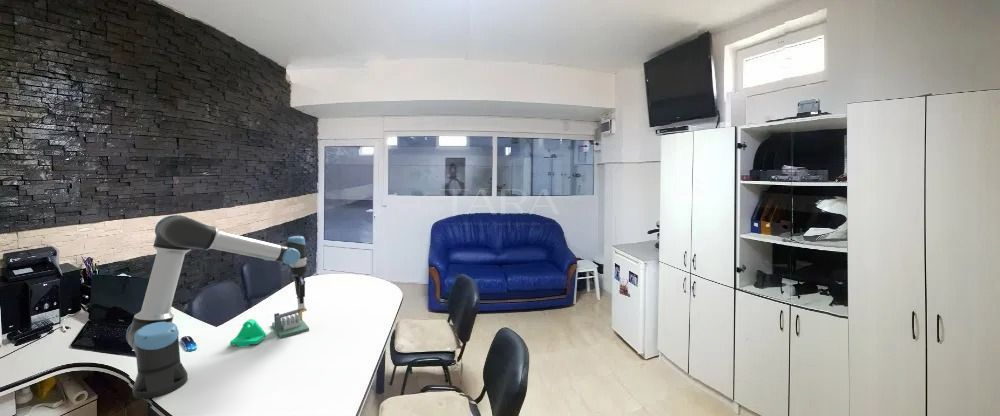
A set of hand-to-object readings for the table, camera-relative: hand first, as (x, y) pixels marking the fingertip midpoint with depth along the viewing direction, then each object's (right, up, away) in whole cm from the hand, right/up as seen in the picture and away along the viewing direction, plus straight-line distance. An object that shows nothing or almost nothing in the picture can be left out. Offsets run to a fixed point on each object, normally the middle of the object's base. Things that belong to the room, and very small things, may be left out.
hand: (301, 308), depth 188 cm
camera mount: (-15, -11, -19) cm, 26 cm away
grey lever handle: (-4, -2, -3) cm, 5 cm away
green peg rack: (-4, -9, -3) cm, 11 cm away
